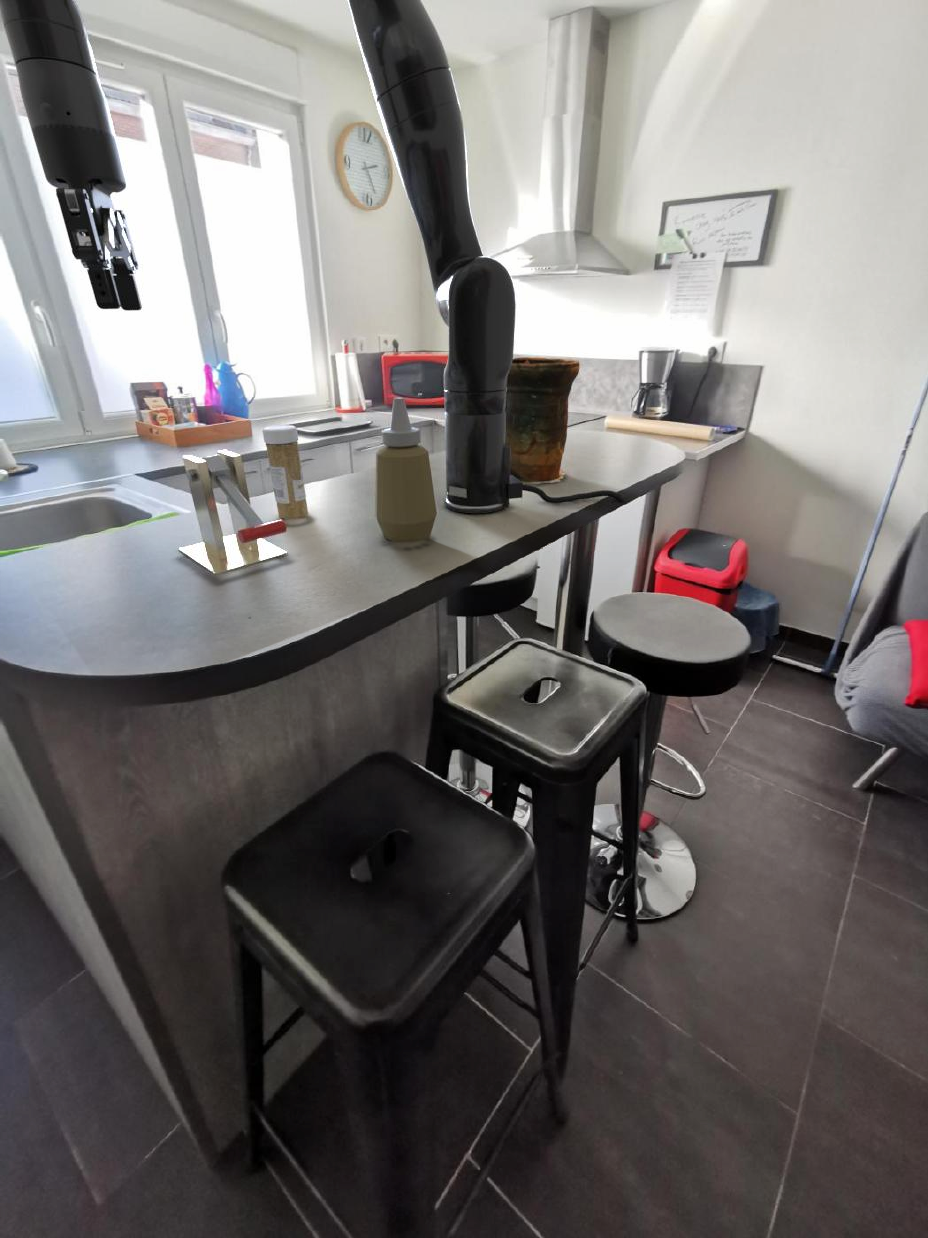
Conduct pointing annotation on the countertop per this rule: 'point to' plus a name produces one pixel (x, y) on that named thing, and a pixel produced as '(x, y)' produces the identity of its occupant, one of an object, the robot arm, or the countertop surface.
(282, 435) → the sprinkles bottle
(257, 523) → the lever
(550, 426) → the vessel
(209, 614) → the countertop surface
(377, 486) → the squeeze bottle
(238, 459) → the metal stand
